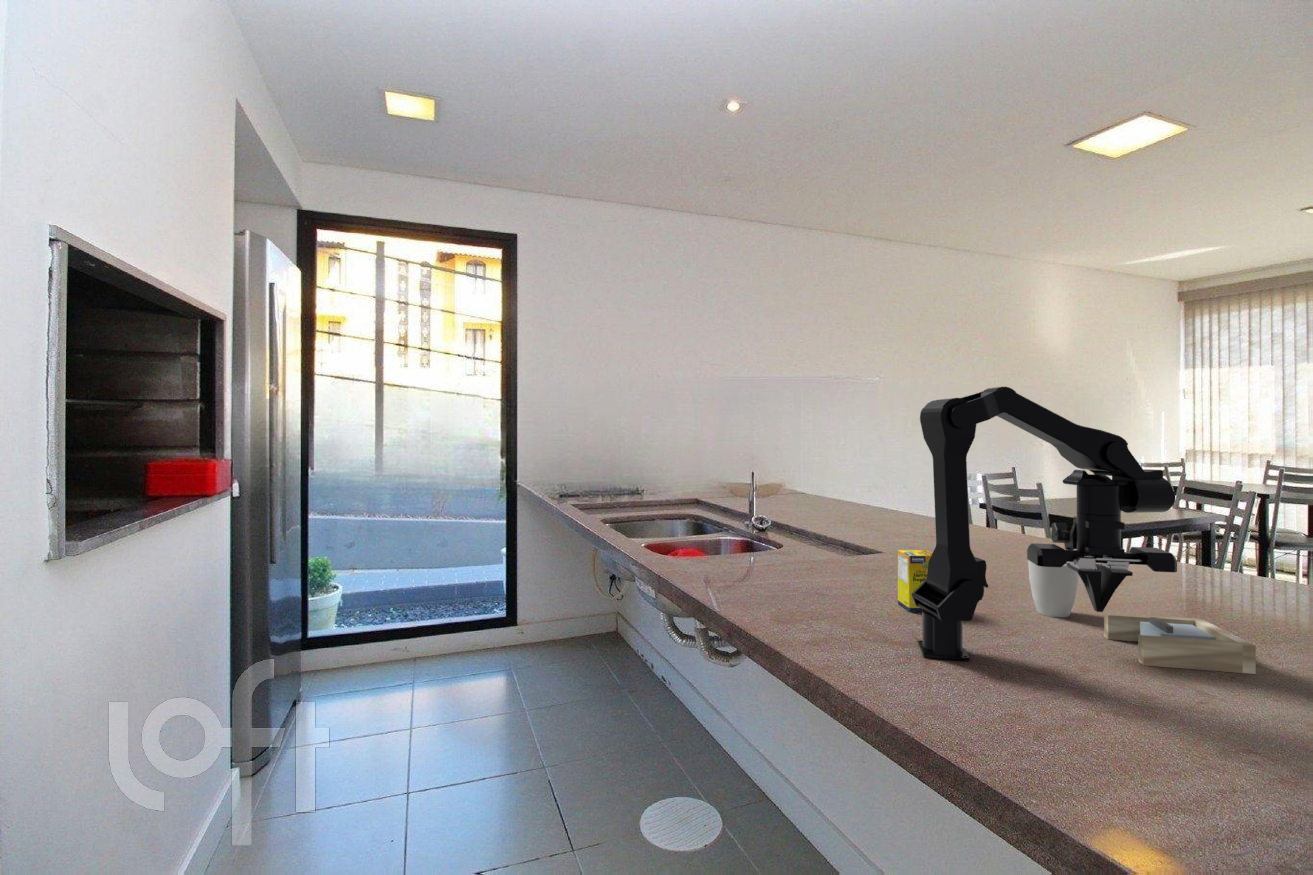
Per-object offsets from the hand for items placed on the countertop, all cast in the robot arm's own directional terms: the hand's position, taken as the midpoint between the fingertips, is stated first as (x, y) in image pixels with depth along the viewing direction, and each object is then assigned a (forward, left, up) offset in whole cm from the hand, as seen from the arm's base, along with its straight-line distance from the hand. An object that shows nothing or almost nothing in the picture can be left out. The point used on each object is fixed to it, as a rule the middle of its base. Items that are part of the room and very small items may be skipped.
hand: (1098, 611), depth 97 cm
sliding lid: (0, -11, -6) cm, 12 cm away
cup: (+19, 0, -6) cm, 20 cm away
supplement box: (+17, +24, -6) cm, 30 cm away
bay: (0, -9, -6) cm, 11 cm away
